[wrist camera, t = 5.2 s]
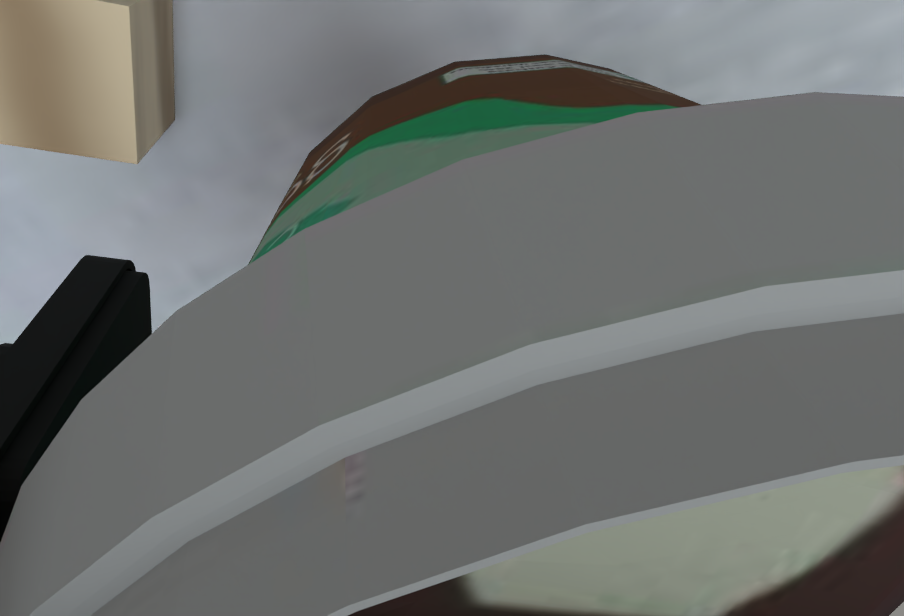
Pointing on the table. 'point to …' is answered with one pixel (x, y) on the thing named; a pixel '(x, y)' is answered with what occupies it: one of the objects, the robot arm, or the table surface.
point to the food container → (515, 374)
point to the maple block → (86, 76)
